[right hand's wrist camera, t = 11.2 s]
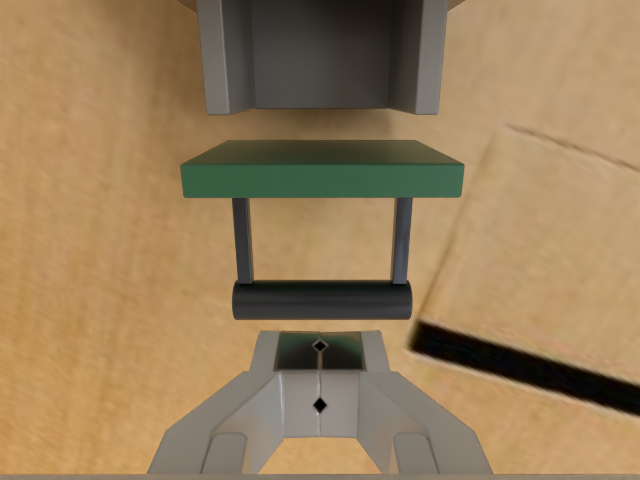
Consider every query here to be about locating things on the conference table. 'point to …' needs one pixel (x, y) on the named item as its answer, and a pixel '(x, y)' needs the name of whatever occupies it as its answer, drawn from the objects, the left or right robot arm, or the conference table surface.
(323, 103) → the drawer
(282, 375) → the right robot arm
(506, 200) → the conference table surface
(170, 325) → the conference table surface
